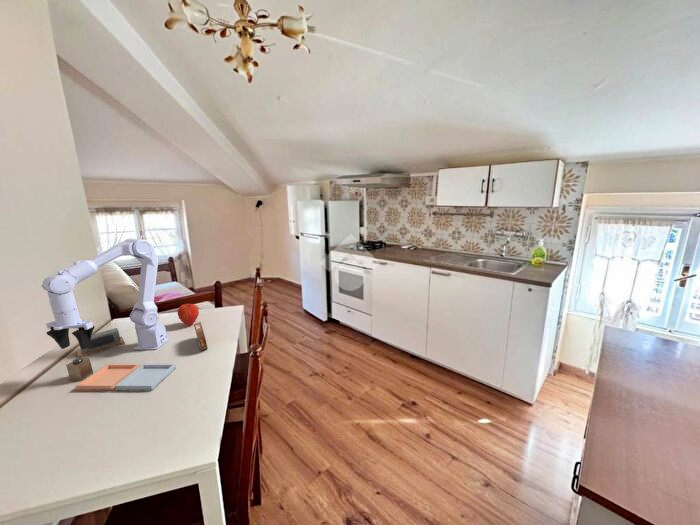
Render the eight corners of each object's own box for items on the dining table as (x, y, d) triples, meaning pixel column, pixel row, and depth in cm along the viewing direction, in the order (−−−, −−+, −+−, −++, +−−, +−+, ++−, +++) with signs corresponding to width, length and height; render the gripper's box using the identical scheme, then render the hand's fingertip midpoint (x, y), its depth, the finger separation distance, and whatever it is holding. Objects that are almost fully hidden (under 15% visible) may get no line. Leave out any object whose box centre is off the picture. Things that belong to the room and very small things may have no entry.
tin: (208, 351, 108) (205, 332, 106) (199, 354, 106) (196, 334, 104) (204, 336, 120) (201, 318, 118) (196, 338, 119) (193, 320, 117)
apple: (203, 320, 136) (200, 300, 133) (195, 328, 127) (191, 307, 125) (185, 321, 135) (182, 301, 133) (176, 329, 127) (172, 307, 125)
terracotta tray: (140, 368, 98) (139, 363, 98) (112, 390, 87) (110, 385, 86) (109, 368, 98) (108, 364, 98) (77, 390, 87) (75, 385, 87)
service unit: (125, 343, 115) (121, 330, 114) (79, 358, 106) (75, 344, 104) (122, 338, 120) (119, 325, 119) (77, 351, 110) (74, 338, 109)
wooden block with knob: (93, 373, 96) (88, 356, 94) (82, 380, 92) (77, 363, 90) (82, 373, 96) (77, 356, 94) (70, 380, 92) (65, 363, 91)
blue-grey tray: (176, 368, 97) (175, 363, 97) (152, 390, 86) (151, 385, 86) (144, 368, 98) (143, 363, 98) (116, 390, 87) (115, 385, 86)
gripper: (30, 315, 87) (42, 353, 90) (72, 315, 86) (83, 354, 89) (55, 306, 94) (66, 342, 97) (94, 306, 92) (104, 343, 95)
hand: (75, 347), depth 93 cm, fingers open, 7 cm apart
